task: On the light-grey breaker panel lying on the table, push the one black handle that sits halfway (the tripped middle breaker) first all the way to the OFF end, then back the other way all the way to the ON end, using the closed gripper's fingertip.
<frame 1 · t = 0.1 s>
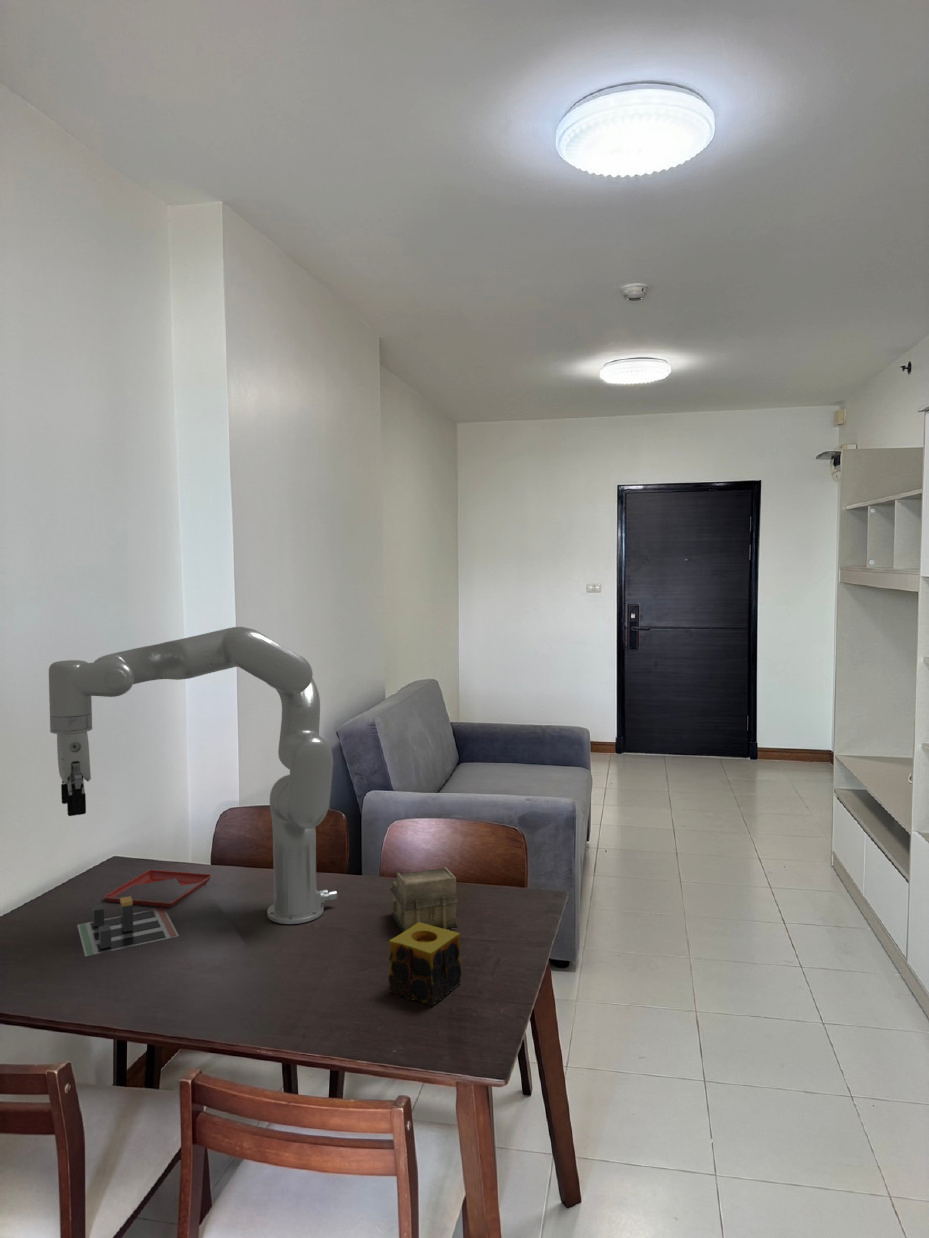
hand: (73, 808, 164), 31 cm above the table, tool pointing down, fingers open, 9 cm apart
red square tray: (160, 899, 198), on the table
breaker front (ON): (105, 946, 168), resting on breaker panel
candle: (425, 989, 154), on the table
breaker back (ON): (98, 924, 179), resting on breaker panel
breaker panel: (127, 936, 176), on the table
miniature house: (427, 922, 184), on the table
tripped breaker: (126, 913, 176), point 5 cm above the table, slide at 0.0 cm
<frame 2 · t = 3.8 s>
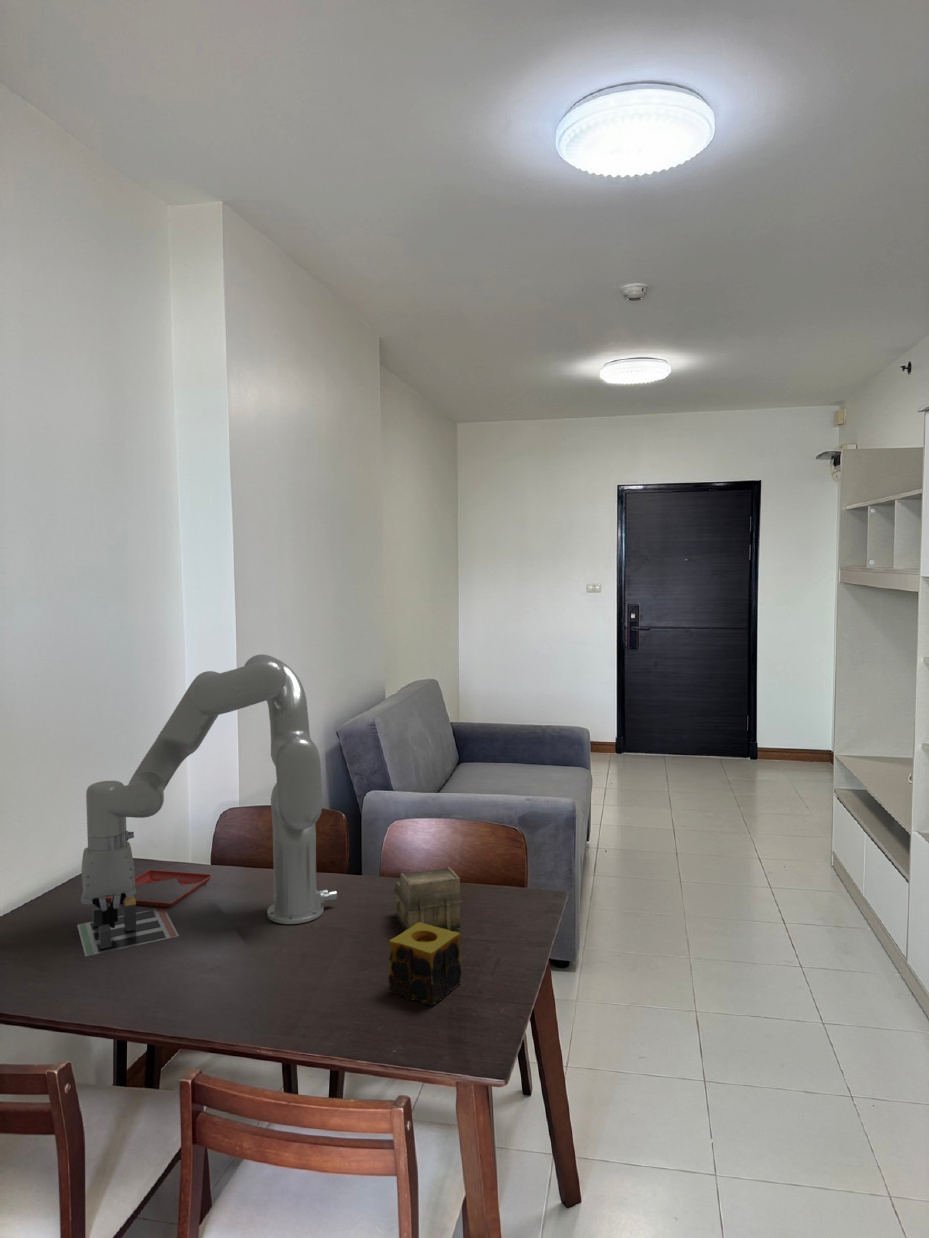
hand: (109, 925, 174), 3 cm above the table, tool pointing down, fingers closed
tripped breaker: (129, 913, 176), point 5 cm above the table, slide at -0.6 cm, touching gripper
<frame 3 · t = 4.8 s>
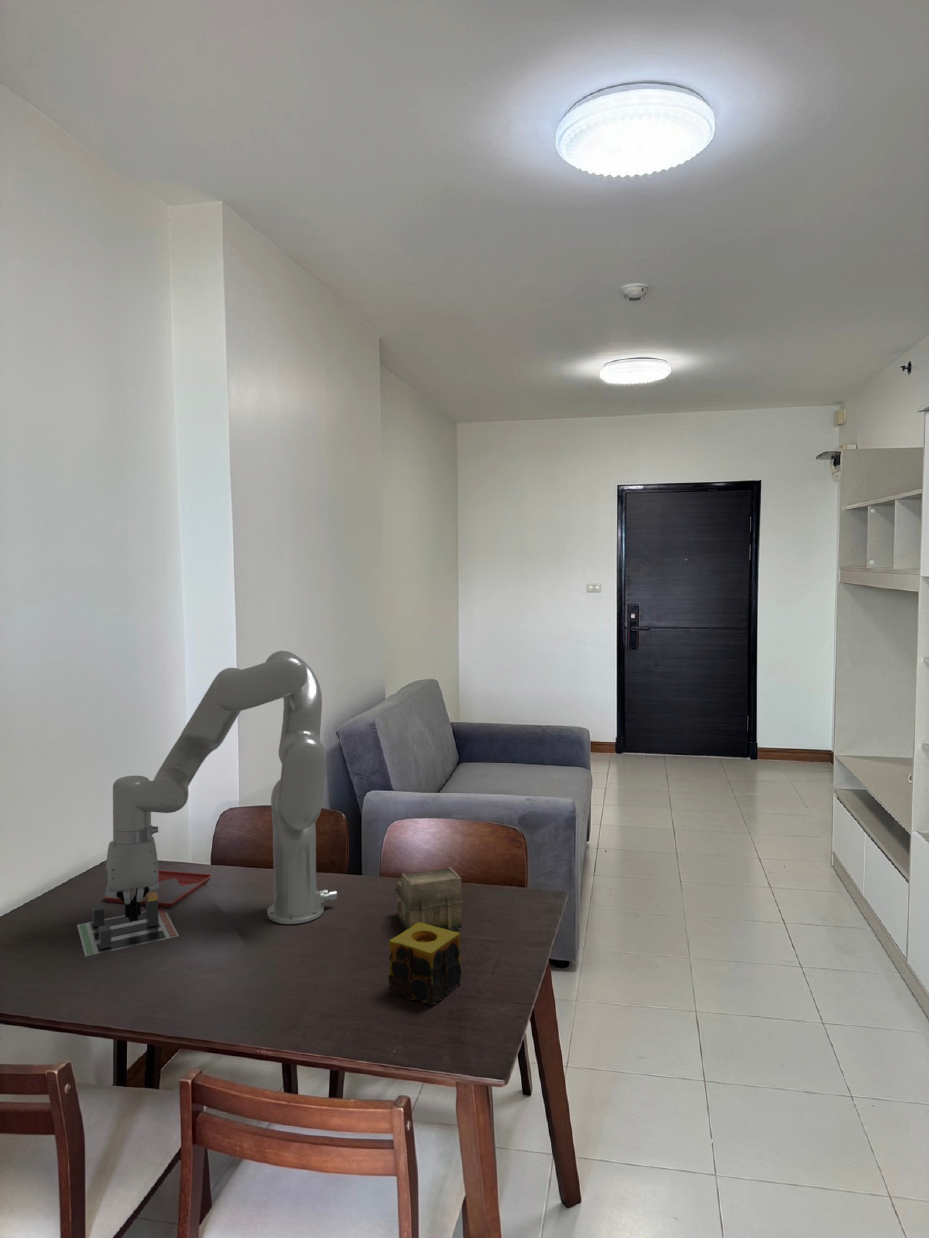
hand: (132, 919, 177), 4 cm above the table, tool pointing down, fingers closed
tripped breaker: (152, 908, 178), point 5 cm above the table, slide at -5.1 cm, touching gripper
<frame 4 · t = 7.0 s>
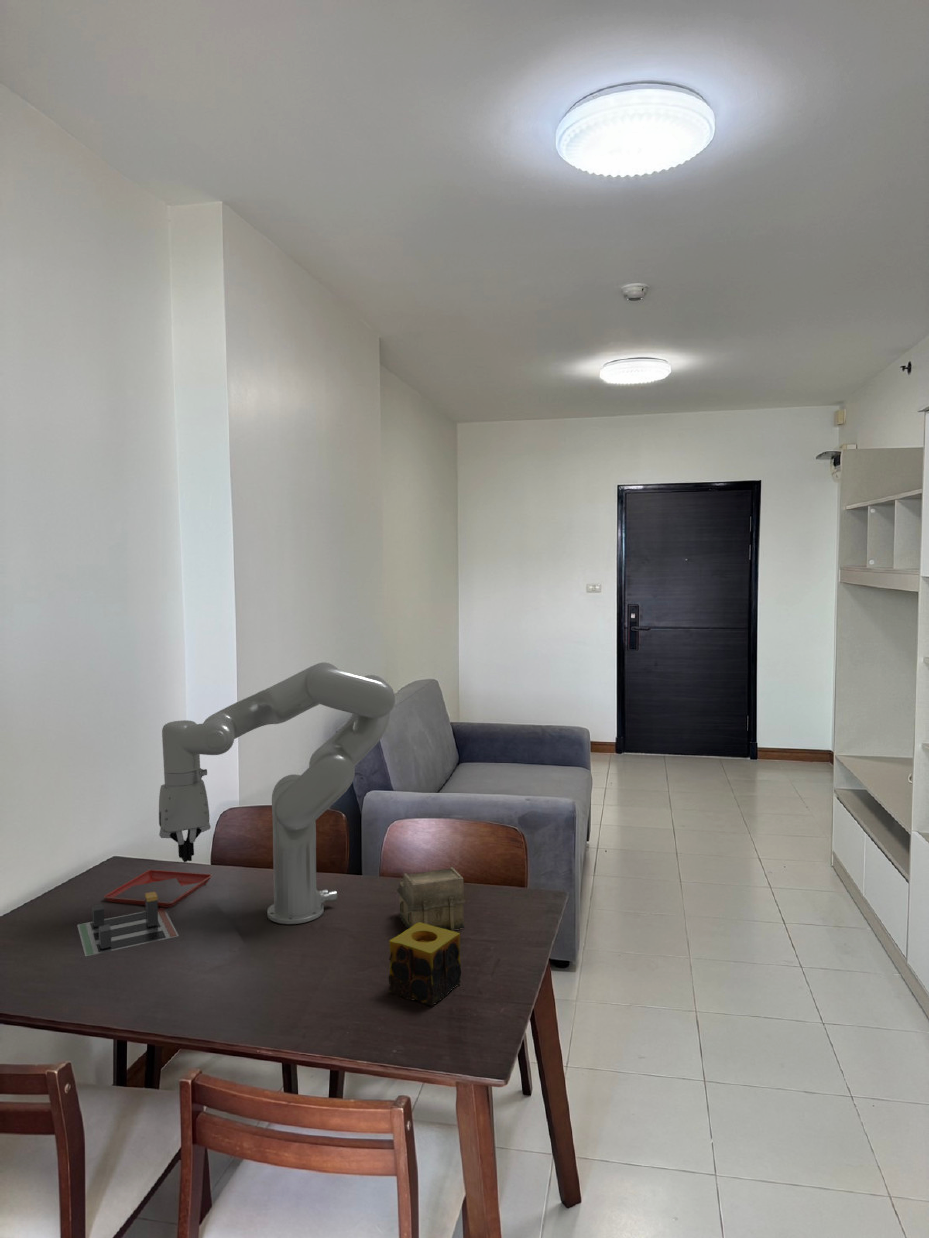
hand: (186, 859, 181), 15 cm above the table, tool pointing down, fingers closed
tripped breaker: (151, 908, 178), point 5 cm above the table, slide at -5.0 cm
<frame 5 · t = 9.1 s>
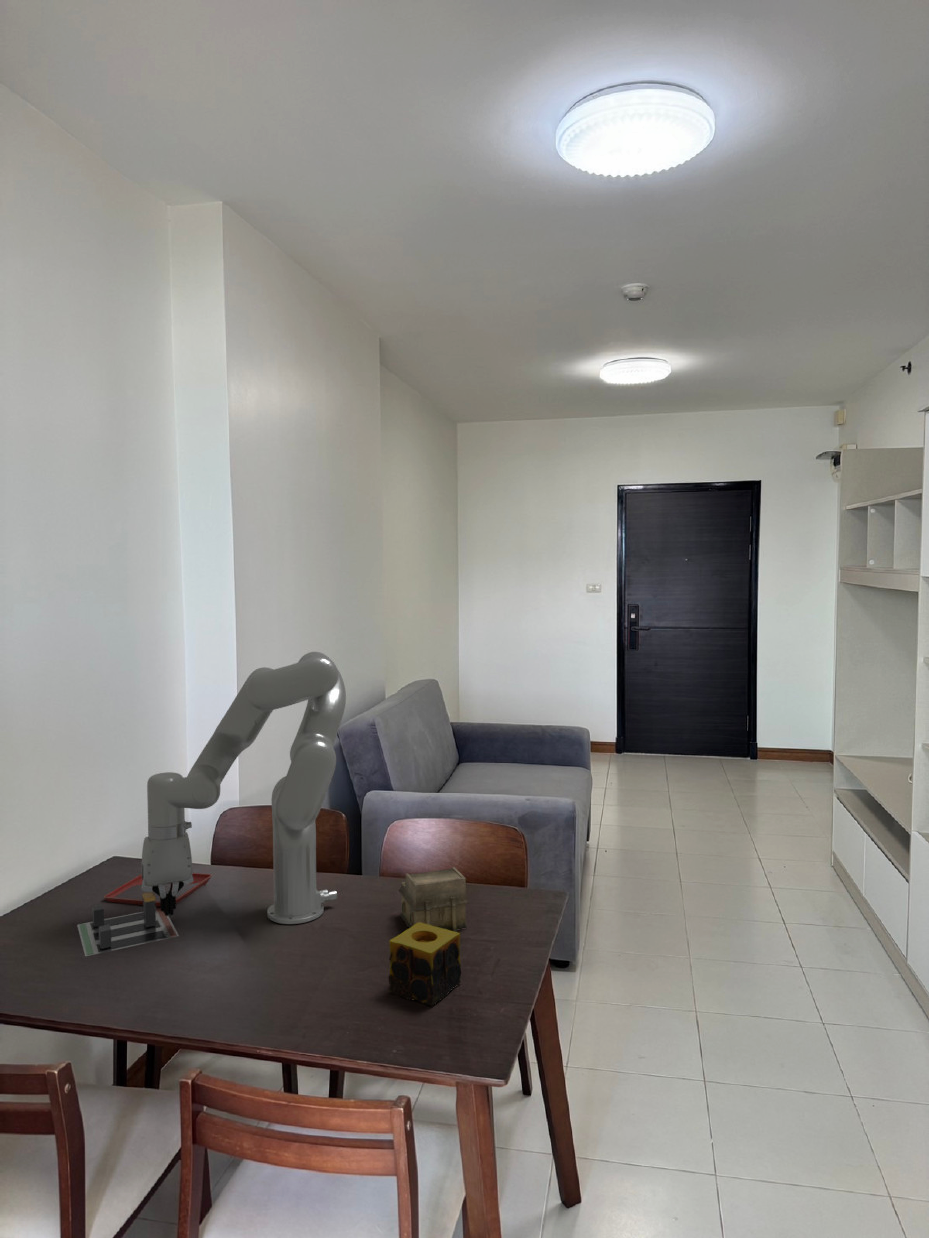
hand: (168, 912, 180), 3 cm above the table, tool pointing down, fingers closed
tripped breaker: (149, 909, 178), point 5 cm above the table, slide at -4.6 cm, touching gripper
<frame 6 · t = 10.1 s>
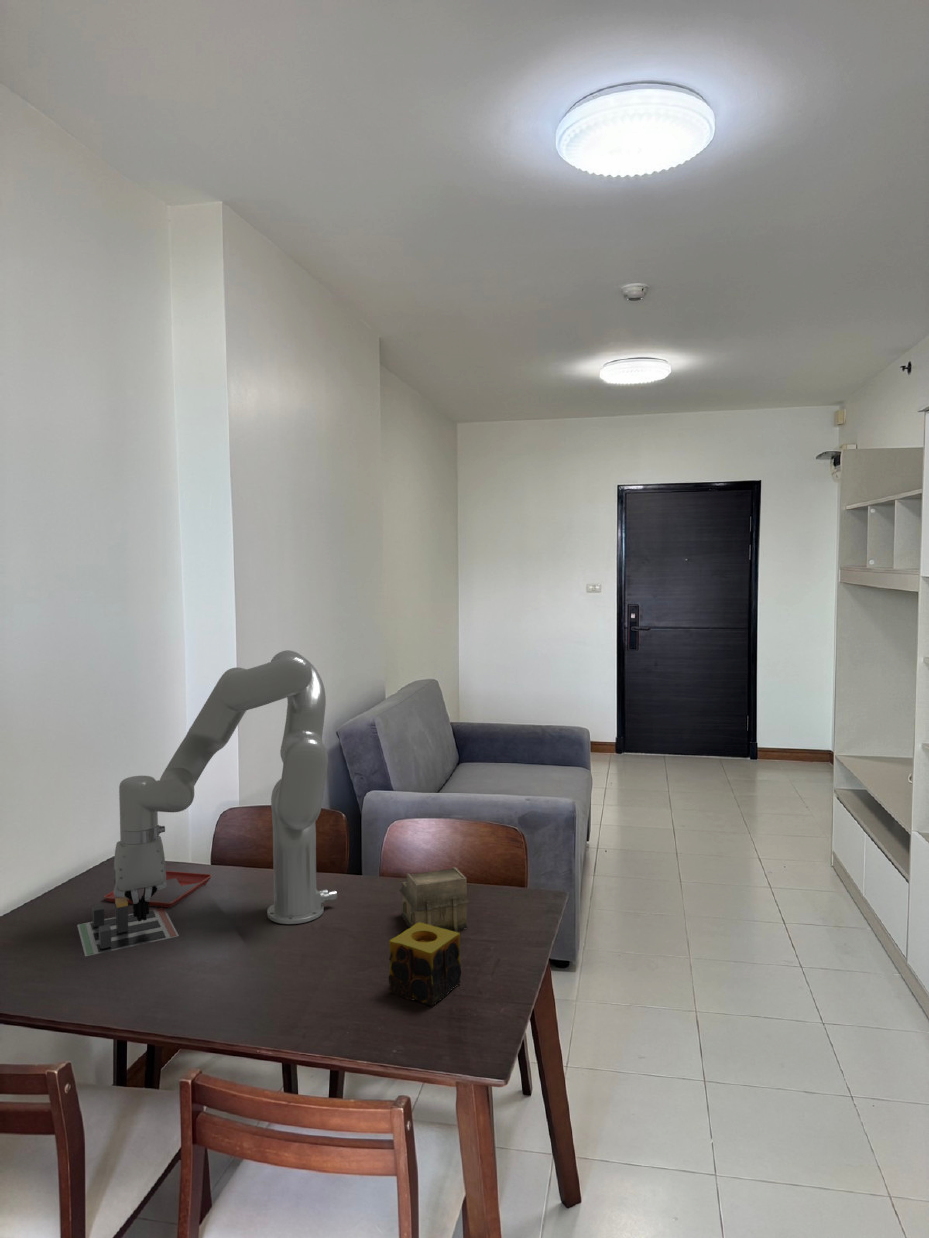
hand: (141, 918, 177), 3 cm above the table, tool pointing down, fingers closed
tripped breaker: (121, 914, 175), point 5 cm above the table, slide at 1.0 cm, touching gripper
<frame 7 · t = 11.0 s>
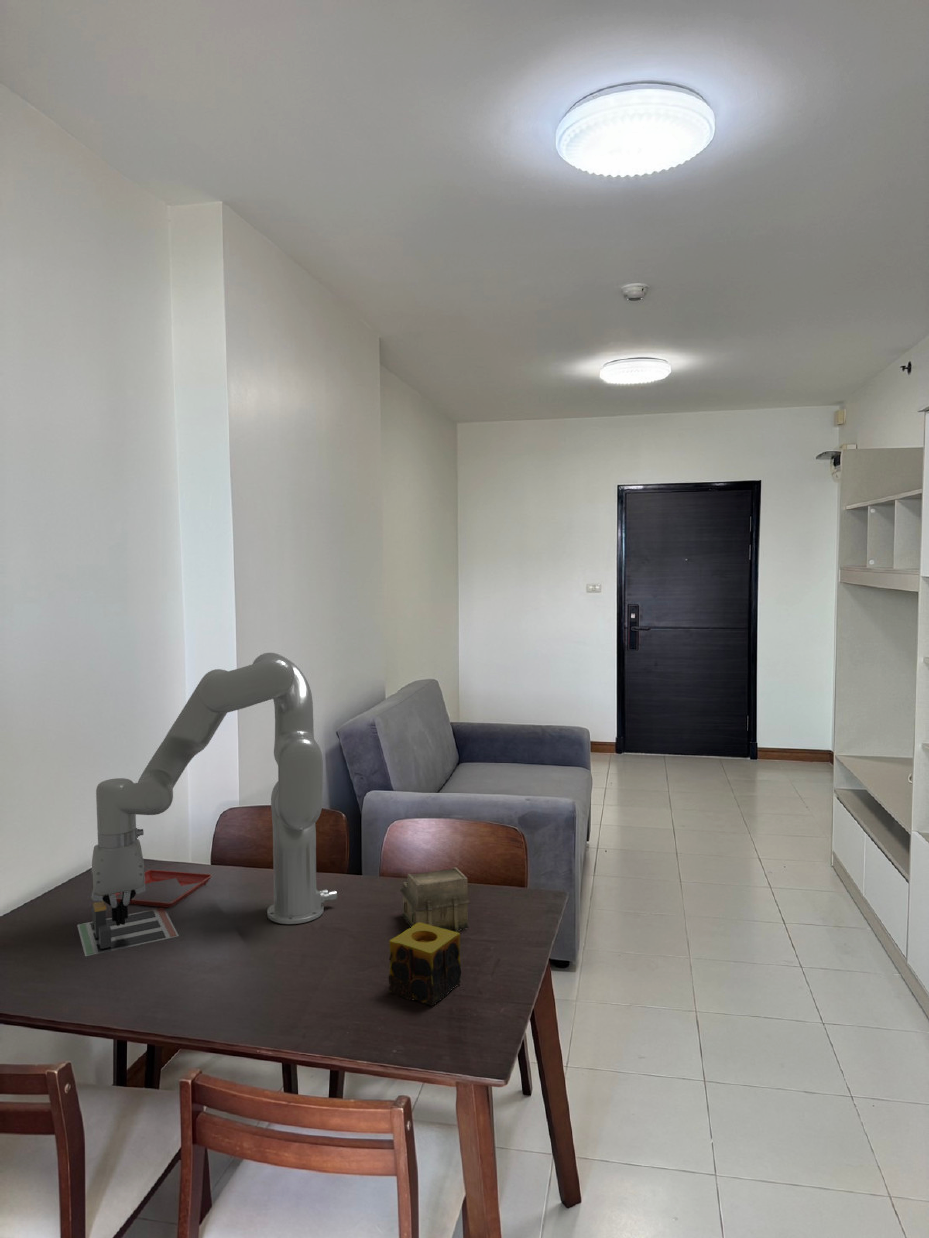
hand: (120, 922, 175), 3 cm above the table, tool pointing down, fingers closed
tripped breaker: (100, 919, 173), point 5 cm above the table, slide at 5.2 cm, touching gripper
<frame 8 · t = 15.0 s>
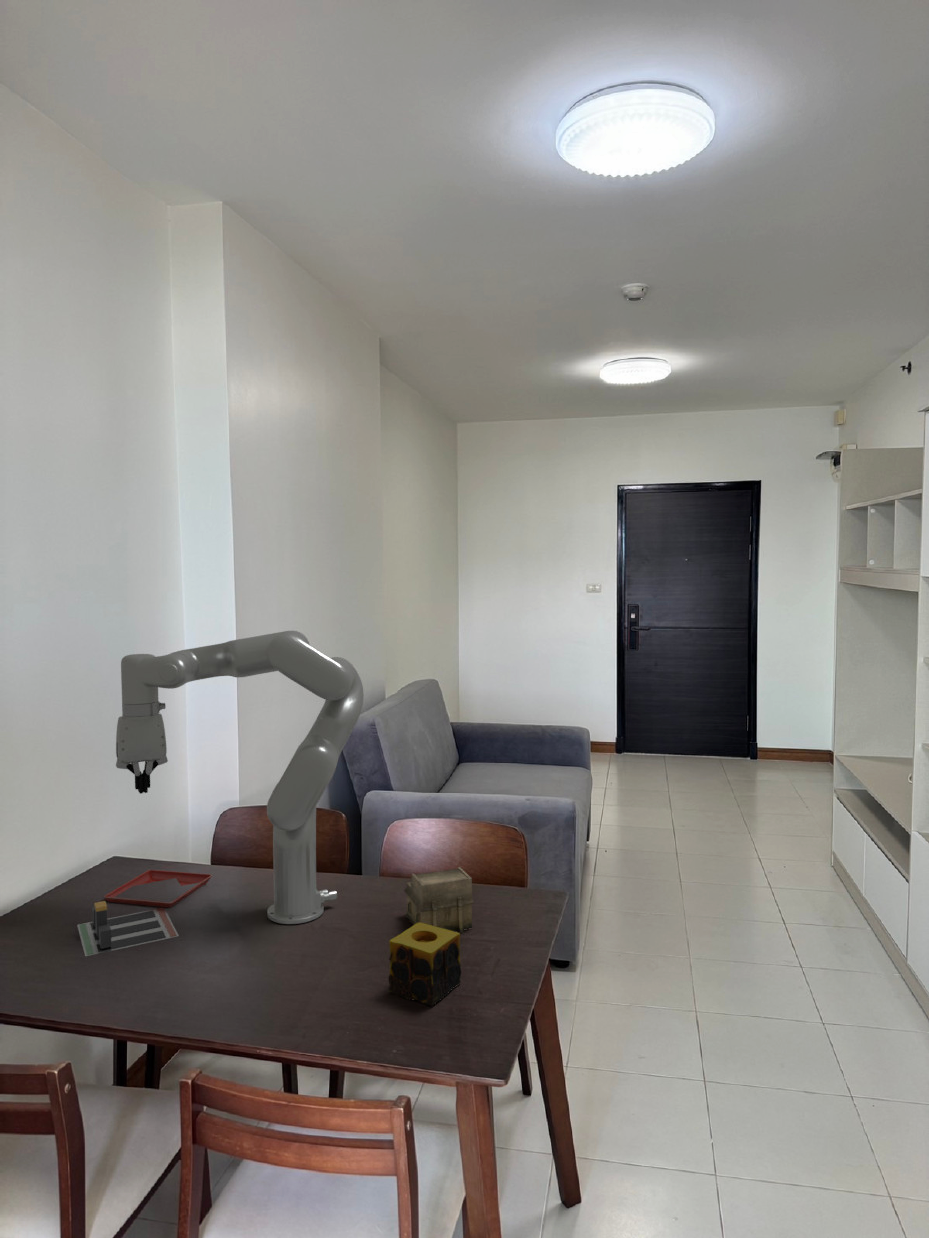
hand: (142, 791, 183), 29 cm above the table, tool pointing down, fingers closed
tripped breaker: (101, 918, 173), point 5 cm above the table, slide at 5.0 cm
at the end: tripped breaker slide at 5.0 cm; tripped breaker touching nothing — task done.
